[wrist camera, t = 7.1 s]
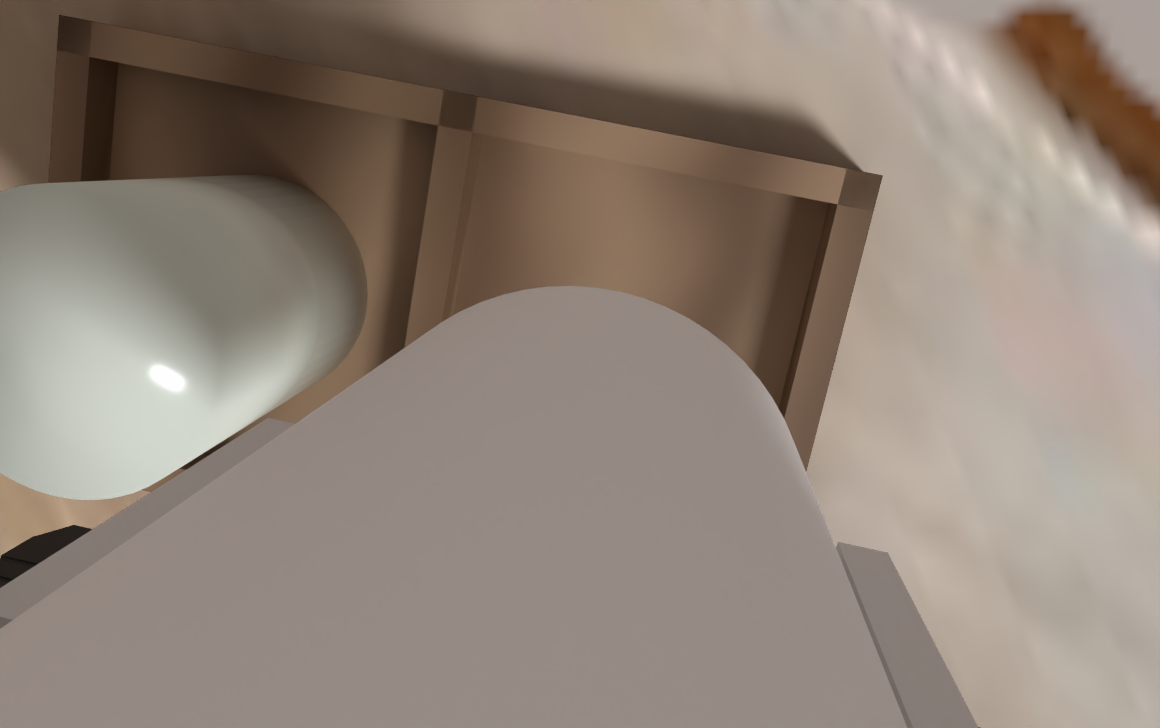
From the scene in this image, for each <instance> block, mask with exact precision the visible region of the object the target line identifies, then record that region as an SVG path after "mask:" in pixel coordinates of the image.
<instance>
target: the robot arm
mask: <svg viewBox="0 0 1160 728" xmlns="http://www.w3.org/2000/svg"><path fill="white" fill-rule="evenodd" d="M293 425H294V423H289V422H285V421H280V420H276V419H271V418H267V419H265V420H264V421H262V422H261V423H259V424H257V425H256V426H254V427H253V428H251V429H250V430H248V431H246V432H245V433H243V434H242V435H240V436H239V437H237V438H235V439H234V440H232V441H231V442H229V443H228V444H226V445H224V446H223V447H221V448H220V449H218V450H217V451H215V452H213V453H212V454H210V455H209V456H207V457H206V458H204V459H202V460H201V461H199V462H198V463H196V464H195V465H193V466H191V467H190V468H188V469H187V470H185V471H184V472H182V473H180V474H179V475H177V476H176V477H174V478H173V479H171V480H169V481H168V482H166V483H165V484H163V485H162V486H160V487H158V488H157V489H155V490H154V491H152V492H151V493H149V494H147V495H146V496H144V497H143V498H141V499H140V500H138V501H136V502H135V503H133V504H132V505H130V506H129V507H127V508H125V509H124V510H122V511H121V512H119V513H118V514H116V515H114V516H113V517H111V518H110V519H108V520H106V521H105V522H103V523H102V524H100V525H99V526H97V527H95V528H94V529H89V528H85V527H80V526H76V525H72V526H69V527H65V528H62V529H59V530H55V531H52V532H48V533H45V534H41V535H38V536H34V537H32V538H30V539H28V540H26V541H25V542H23V543H21V544H20V545H18V546H16V547H15V548H13V549H11V550H9V551H8V552H6V553H4V554H3V555H1V558H0V629H1V628H2V627H4V626H5V625H7V624H8V623H9V622H11V621H12V620H14V619H15V618H17V617H18V616H19V615H21V614H22V613H24V612H25V611H27V610H28V609H30V608H31V607H32V606H34V605H35V604H37V603H38V602H40V601H41V600H43V599H44V598H45V597H47V596H48V595H50V594H51V593H53V592H54V591H55V590H57V589H58V588H60V587H61V586H63V585H64V584H66V583H67V582H68V581H70V580H71V579H73V578H74V577H76V576H77V575H78V574H80V573H81V572H83V571H84V570H86V569H87V568H89V567H90V566H91V565H93V564H94V563H96V562H97V561H99V560H100V559H102V558H103V557H104V556H106V555H107V554H109V553H110V552H112V551H113V550H114V549H116V548H117V547H119V546H120V545H122V544H123V543H125V542H126V541H127V540H129V539H130V538H132V537H133V536H135V535H136V534H137V533H139V532H140V531H142V530H143V529H145V528H146V527H148V526H149V525H150V524H152V523H153V522H155V521H156V520H158V519H159V518H161V517H162V516H163V515H165V514H166V513H168V512H169V511H171V510H172V509H173V508H175V507H176V506H178V505H179V504H181V503H182V502H184V501H185V500H186V499H188V498H189V497H191V496H192V495H194V494H195V493H196V492H198V491H199V490H201V489H202V488H204V487H205V486H207V485H208V484H209V483H211V482H212V481H214V480H215V479H217V478H218V477H220V476H221V475H222V474H224V473H225V472H227V471H228V470H230V469H231V468H232V467H234V466H235V465H237V464H238V463H240V462H241V461H243V460H244V459H245V458H247V457H248V456H250V455H251V454H253V453H254V452H255V451H257V450H258V449H260V448H261V447H263V446H264V445H266V444H267V443H268V442H270V441H271V440H273V439H274V438H276V437H277V436H279V435H280V434H281V433H283V432H284V431H286V430H287V429H289V428H290V427H291V426H293ZM836 549H837V551H838V554H839V557H840V559H841V562H842V564H843V567H844V569H845V572H846V574H847V577H848V579H849V582H850V584H851V587H852V589H853V592H854V594H855V597H856V599H857V602H858V604H859V607H860V609H861V612H862V614H863V617H864V620H865V622H866V625H867V627H868V630H869V632H870V635H871V637H872V640H873V642H874V645H875V647H876V650H877V652H878V655H879V657H880V660H881V662H882V665H883V667H884V670H885V672H886V675H887V678H888V680H889V683H890V685H891V688H892V690H893V693H894V695H895V698H896V700H897V703H898V705H899V708H900V710H901V713H902V715H903V718H904V720H905V723H906V725H907V728H979V727H978V726H977V724H976V722H975V720H974V718H973V716H972V714H971V712H970V710H969V709H968V707H967V705H966V703H965V701H964V699H963V697H962V695H961V693H960V691H959V689H958V687H957V685H956V684H955V682H954V680H953V678H952V676H951V674H950V672H949V670H948V668H947V666H946V664H945V662H944V660H943V658H942V657H941V655H940V653H939V651H938V649H937V647H936V645H935V643H934V641H933V639H932V637H931V635H930V633H929V631H928V630H927V628H926V626H925V624H924V622H923V620H922V618H921V616H920V614H919V612H918V610H917V608H916V606H915V604H914V603H913V601H912V599H911V597H910V595H909V593H908V591H907V589H906V587H905V585H904V583H903V581H902V579H901V577H900V576H899V574H898V572H897V570H896V568H895V566H894V564H893V562H892V560H891V558H890V556H889V554H888V553H887V552H882V551H877V550H873V549H868V548H864V547H859V546H854V545H850V544H845V543H841V542H838V543H837V547H836Z"/></svg>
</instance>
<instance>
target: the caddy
mask: <svg viewBox="0 0 1160 728" xmlns="http://www.w3.org/2000/svg"><path fill="white" fill-rule="evenodd" d="M224 175H266V176H274V177H277V178H281V179H285V180H288V181H290V182H293V183H295V184H297V185H300V186H302V187H304V188H305V189H307V190H309V191H310V192H312V193H314V194H315V195H317V196H318V197H319V198H320V199H322V200H323V201H324V202H326V203H327V204H328V205H329V206H330V207H331V208H332V209H333V210H334V211H335V212H336V213H337V214H338V216H339V217H340V218H341V219H342V221H343V222H344V223H345V224H346V226H347V228H348V229H349V231H350V232H351V234H352V236H353V237H354V239H355V242H356V244H357V246H358V248H359V250H360V253H361V256H362V259H363V263H364V266H365V271H366V277H367V288H368V299H367V310H366V315H365V320H364V324H363V326H362V329H361V332H360V335H359V337H358V339H357V341H356V343H355V345H354V347H353V348H352V350H351V351H350V353H349V354H348V355H347V357H346V358H345V359H344V360H343V362H342V363H341V364H340V365H339V366H338V367H337V368H336V369H335V370H333V371H332V372H331V373H330V374H328V375H327V376H326V377H324V378H323V379H321V380H320V381H318V382H316V383H315V384H313V385H312V386H310V387H308V388H307V389H305V390H304V391H302V392H300V393H299V394H297V395H296V396H294V397H292V398H291V399H289V400H288V401H286V402H284V403H283V404H281V405H280V406H278V407H276V408H275V409H273V410H272V411H270V412H268V413H267V414H265V415H264V416H262V417H260V418H259V419H257V420H256V421H254V422H252V423H251V424H249V425H248V426H246V427H244V428H243V429H241V430H240V431H238V432H236V433H235V434H233V435H232V436H230V437H228V438H227V439H225V440H224V441H222V442H220V443H219V444H217V445H216V446H214V447H212V448H211V449H209V450H208V451H206V452H204V453H203V454H201V455H200V456H198V457H196V458H195V459H193V460H192V461H190V462H188V463H187V464H185V465H184V466H182V467H180V468H179V469H177V470H176V471H174V472H172V473H171V474H169V475H168V476H166V477H164V478H163V479H161V480H159V481H158V482H156V483H154V484H152V485H151V486H149V487H147V488H144V489H142V490H144V491H149V492H152V491H154V490H155V489H157V488H158V487H160V486H162V485H163V484H165V483H166V482H168V481H169V480H171V479H173V478H174V477H176V476H177V475H179V474H180V473H182V472H184V471H185V470H187V469H188V468H190V467H191V466H193V465H195V464H196V463H198V462H199V461H201V460H202V459H204V458H206V457H207V456H209V455H210V454H212V453H213V452H215V451H217V450H218V449H220V448H221V447H223V446H224V445H226V444H228V443H229V442H231V441H232V440H234V439H235V438H237V437H239V436H240V435H242V434H243V433H245V432H246V431H248V430H250V429H251V428H253V427H254V426H256V425H257V424H259V423H261V422H262V421H264V420H265V419H267V418H271V419H276V420H280V421H285V422H289V423H294V424H296V423H297V422H299V421H300V420H302V419H303V418H304V417H306V416H307V415H309V414H310V413H312V412H313V411H314V410H316V409H317V408H319V407H320V406H322V405H323V404H325V403H326V402H327V401H329V400H330V399H332V398H333V397H335V396H336V395H338V394H339V393H340V392H342V391H343V390H345V389H346V388H348V387H349V386H350V385H352V384H353V383H355V382H356V381H358V380H359V379H361V378H362V377H363V376H365V375H366V374H368V373H369V372H371V371H372V370H373V369H375V368H376V367H378V366H379V365H381V364H382V363H384V362H385V361H386V360H388V359H389V358H391V357H392V356H394V355H395V354H396V353H398V352H399V351H401V350H402V349H404V348H405V347H407V346H408V345H409V344H411V343H412V342H414V341H415V340H417V339H418V338H420V337H421V336H422V335H424V334H425V333H427V332H428V331H430V330H431V329H432V328H434V327H435V326H437V325H438V324H440V323H441V322H443V321H445V320H446V319H448V318H450V317H451V316H453V315H455V314H457V313H458V312H460V311H462V310H464V309H467V308H469V307H471V306H473V305H476V304H478V303H480V302H483V301H486V300H489V299H492V298H495V297H498V296H501V295H504V294H508V293H513V292H517V291H521V290H526V289H534V288H542V287H553V286H580V287H593V288H601V289H607V290H613V291H618V292H623V293H627V294H630V295H634V296H637V297H641V298H644V299H647V300H650V301H652V302H655V303H657V304H660V305H663V306H665V307H667V308H669V309H671V310H673V311H675V312H677V313H679V314H681V315H683V316H685V317H687V318H689V319H691V320H692V321H694V322H695V323H697V324H698V325H700V326H702V327H703V328H705V329H706V330H708V331H709V332H710V333H712V334H713V335H714V336H716V337H717V338H718V339H719V340H721V341H722V342H723V343H725V344H726V345H727V346H728V347H729V348H730V349H731V350H732V351H733V352H735V353H736V354H737V355H738V356H739V357H740V358H741V359H742V360H743V361H744V362H745V363H746V364H747V366H748V367H749V368H750V369H751V370H752V371H753V373H754V374H755V375H756V376H757V377H758V378H759V379H760V381H761V382H762V384H763V385H764V387H765V388H766V389H767V391H768V392H769V394H770V395H771V397H772V398H773V400H774V402H775V403H776V405H777V407H778V409H779V410H780V412H781V414H782V416H783V418H784V420H785V422H786V424H787V427H788V429H789V431H790V434H791V436H792V438H793V441H794V443H795V446H796V448H797V451H798V453H799V456H800V458H801V461H802V463H803V466H804V468H805V471H806V470H807V467H808V463H809V459H810V455H811V451H812V447H813V443H814V439H815V436H816V432H817V428H818V424H819V420H820V416H821V412H822V408H823V405H824V401H825V397H826V393H827V389H828V385H829V381H830V377H831V374H832V370H833V366H834V362H835V358H836V354H837V350H838V346H839V343H840V339H841V335H842V331H843V327H844V323H845V319H846V316H847V312H848V308H849V304H850V300H851V296H852V292H853V288H854V285H855V281H856V277H857V273H858V269H859V265H860V261H861V257H862V254H863V250H864V246H865V242H866V238H867V234H868V230H869V226H870V223H871V219H872V215H873V211H874V207H875V203H876V199H877V196H878V192H879V188H880V184H881V180H882V175H877V174H872V173H867V172H862V171H857V170H852V169H846V168H841V167H836V166H831V165H826V164H821V163H816V162H811V161H805V160H800V159H795V158H790V157H785V156H780V155H775V154H770V153H764V152H759V151H754V150H749V149H744V148H739V147H734V146H729V145H723V144H718V143H713V142H708V141H703V140H698V139H693V138H688V137H682V136H677V135H672V134H667V133H662V132H657V131H652V130H647V129H641V128H636V127H631V126H626V125H621V124H616V123H611V122H605V121H600V120H595V119H590V118H585V117H580V116H575V115H570V114H564V113H559V112H554V111H549V110H544V109H539V108H534V107H529V106H523V105H518V104H513V103H508V102H503V101H498V100H493V99H488V98H482V97H477V96H472V95H467V94H462V93H457V92H452V91H447V90H441V89H436V88H431V87H426V86H421V85H416V84H411V83H406V82H400V81H395V80H390V79H385V78H380V77H375V76H370V75H365V74H359V73H354V72H349V71H344V70H339V69H334V68H329V67H324V66H318V65H313V64H308V63H303V62H298V61H293V60H288V59H283V58H277V57H272V56H267V55H262V54H257V53H252V52H247V51H242V50H236V49H231V48H226V47H221V46H216V45H211V44H206V43H201V42H195V41H190V40H185V39H180V38H175V37H170V36H165V35H159V34H154V33H149V32H144V31H139V30H134V29H129V28H124V27H118V26H113V25H108V24H103V23H98V22H93V21H88V20H83V19H77V18H72V17H67V16H62V15H59V27H58V43H57V58H56V74H55V90H54V106H53V121H52V137H51V153H50V168H49V183H62V182H85V181H108V180H131V179H155V178H178V177H201V176H224Z"/></svg>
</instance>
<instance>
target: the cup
mask: <svg viewBox="0 0 1160 728" xmlns="http://www.w3.org/2000/svg"><path fill="white" fill-rule="evenodd" d="M0 728H907V725H906V723H905V720H904V718H903V715H902V713H901V710H900V708H899V705H898V703H897V700H896V698H895V695H894V693H893V690H892V688H891V685H890V683H889V680H888V678H887V675H886V672H885V670H884V667H883V665H882V662H881V660H880V657H879V655H878V652H877V650H876V647H875V645H874V642H873V640H872V637H871V635H870V632H869V630H868V627H867V625H866V622H865V620H864V617H863V614H862V612H861V609H860V607H859V604H858V602H857V599H856V597H855V594H854V592H853V589H852V587H851V584H850V582H849V579H848V577H847V574H846V572H845V569H844V567H843V564H842V562H841V559H840V557H839V554H838V551H837V549H836V546H835V544H834V541H833V539H832V536H831V534H830V531H829V529H828V526H827V524H826V521H825V519H824V516H823V514H822V511H821V509H820V506H819V504H818V501H817V499H816V496H815V494H814V491H813V488H812V486H811V483H810V481H809V478H808V476H807V473H806V471H805V468H804V466H803V463H802V461H801V458H800V456H799V453H798V451H797V448H796V446H795V443H794V441H793V438H792V436H791V434H790V431H789V429H788V427H787V424H786V422H785V420H784V418H783V416H782V414H781V412H780V410H779V409H778V407H777V405H776V403H775V402H774V400H773V398H772V397H771V395H770V394H769V392H768V391H767V389H766V388H765V387H764V385H763V384H762V382H761V381H760V379H759V378H758V377H757V376H756V375H755V374H754V373H753V371H752V370H751V369H750V368H749V367H748V366H747V364H746V363H745V362H744V361H743V360H742V359H741V358H740V357H739V356H738V355H737V354H736V353H735V352H733V351H732V350H731V349H730V348H729V347H728V346H727V345H726V344H725V343H723V342H722V341H721V340H719V339H718V338H717V337H716V336H714V335H713V334H712V333H710V332H709V331H708V330H706V329H705V328H703V327H702V326H700V325H698V324H697V323H695V322H694V321H692V320H691V319H689V318H687V317H685V316H683V315H681V314H679V313H677V312H675V311H673V310H671V309H669V308H667V307H665V306H663V305H660V304H657V303H655V302H652V301H650V300H647V299H644V298H641V297H637V296H634V295H630V294H627V293H623V292H618V291H613V290H607V289H601V288H593V287H580V286H553V287H542V288H534V289H526V290H521V291H517V292H513V293H508V294H504V295H501V296H498V297H495V298H492V299H489V300H486V301H483V302H480V303H478V304H476V305H473V306H471V307H469V308H467V309H464V310H462V311H460V312H458V313H457V314H455V315H453V316H451V317H450V318H448V319H446V320H445V321H443V322H441V323H440V324H438V325H437V326H435V327H434V328H432V329H431V330H430V331H428V332H427V333H425V334H424V335H422V336H421V337H420V338H418V339H417V340H415V341H414V342H412V343H411V344H409V345H408V346H407V347H405V348H404V349H402V350H401V351H399V352H398V353H396V354H395V355H394V356H392V357H391V358H389V359H388V360H386V361H385V362H384V363H382V364H381V365H379V366H378V367H376V368H375V369H373V370H372V371H371V372H369V373H368V374H366V375H365V376H363V377H362V378H361V379H359V380H358V381H356V382H355V383H353V384H352V385H350V386H349V387H348V388H346V389H345V390H343V391H342V392H340V393H339V394H338V395H336V396H335V397H333V398H332V399H330V400H329V401H327V402H326V403H325V404H323V405H322V406H320V407H319V408H317V409H316V410H314V411H313V412H312V413H310V414H309V415H307V416H306V417H304V418H303V419H302V420H300V421H299V422H297V423H296V424H294V425H293V426H291V427H290V428H289V429H287V430H286V431H284V432H283V433H281V434H280V435H279V436H277V437H276V438H274V439H273V440H271V441H270V442H268V443H267V444H266V445H264V446H263V447H261V448H260V449H258V450H257V451H255V452H254V453H253V454H251V455H250V456H248V457H247V458H245V459H244V460H243V461H241V462H240V463H238V464H237V465H235V466H234V467H232V468H231V469H230V470H228V471H227V472H225V473H224V474H222V475H221V476H220V477H218V478H217V479H215V480H214V481H212V482H211V483H209V484H208V485H207V486H205V487H204V488H202V489H201V490H199V491H198V492H196V493H195V494H194V495H192V496H191V497H189V498H188V499H186V500H185V501H184V502H182V503H181V504H179V505H178V506H176V507H175V508H173V509H172V510H171V511H169V512H168V513H166V514H165V515H163V516H162V517H161V518H159V519H158V520H156V521H155V522H153V523H152V524H150V525H149V526H148V527H146V528H145V529H143V530H142V531H140V532H139V533H137V534H136V535H135V536H133V537H132V538H130V539H129V540H127V541H126V542H125V543H123V544H122V545H120V546H119V547H117V548H116V549H114V550H113V551H112V552H110V553H109V554H107V555H106V556H104V557H103V558H102V559H100V560H99V561H97V562H96V563H94V564H93V565H91V566H90V567H89V568H87V569H86V570H84V571H83V572H81V573H80V574H78V575H77V576H76V577H74V578H73V579H71V580H70V581H68V582H67V583H66V584H64V585H63V586H61V587H60V588H58V589H57V590H55V591H54V592H53V593H51V594H50V595H48V596H47V597H45V598H44V599H43V600H41V601H40V602H38V603H37V604H35V605H34V606H32V607H31V608H30V609H28V610H27V611H25V612H24V613H22V614H21V615H19V616H18V617H17V618H15V619H14V620H12V621H11V622H9V623H8V624H7V625H5V626H4V627H2V628H1V629H0Z"/></svg>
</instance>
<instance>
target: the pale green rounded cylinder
mask: <svg viewBox="0 0 1160 728" xmlns="http://www.w3.org/2000/svg"><path fill="white" fill-rule="evenodd" d="M367 299H368V288H367V277H366V271H365V266H364V263H363V259H362V256H361V253H360V250H359V248H358V246H357V244H356V242H355V239H354V237H353V236H352V234H351V232H350V231H349V229H348V228H347V226H346V224H345V223H344V222H343V221H342V219H341V218H340V217H339V216H338V214H337V213H336V212H335V211H334V210H333V209H332V208H331V207H330V206H329V205H328V204H327V203H326V202H324V201H323V200H322V199H320V198H319V197H318V196H317V195H315V194H314V193H312V192H310V191H309V190H307V189H305V188H304V187H302V186H300V185H297V184H295V183H293V182H290V181H288V180H285V179H281V178H277V177H274V176H266V175H224V176H201V177H178V178H155V179H131V180H108V181H85V182H62V183H39V184H30V185H24V186H17V187H13V188H10V189H7V190H4V191H0V473H1V474H3V475H5V476H7V477H8V478H10V479H12V480H14V481H15V482H17V483H19V484H22V485H24V486H26V487H29V488H31V489H33V490H36V491H39V492H42V493H46V494H49V495H52V496H56V497H62V498H69V499H75V500H100V499H110V498H116V497H120V496H124V495H128V494H132V493H134V492H137V491H139V490H142V489H144V488H147V487H149V486H151V485H152V484H154V483H156V482H158V481H159V480H161V479H163V478H164V477H166V476H168V475H169V474H171V473H172V472H174V471H176V470H177V469H179V468H180V467H182V466H184V465H185V464H187V463H188V462H190V461H192V460H193V459H195V458H196V457H198V456H200V455H201V454H203V453H204V452H206V451H208V450H209V449H211V448H212V447H214V446H216V445H217V444H219V443H220V442H222V441H224V440H225V439H227V438H228V437H230V436H232V435H233V434H235V433H236V432H238V431H240V430H241V429H243V428H244V427H246V426H248V425H249V424H251V423H252V422H254V421H256V420H257V419H259V418H260V417H262V416H264V415H265V414H267V413H268V412H270V411H272V410H273V409H275V408H276V407H278V406H280V405H281V404H283V403H284V402H286V401H288V400H289V399H291V398H292V397H294V396H296V395H297V394H299V393H300V392H302V391H304V390H305V389H307V388H308V387H310V386H312V385H313V384H315V383H316V382H318V381H320V380H321V379H323V378H324V377H326V376H327V375H328V374H330V373H331V372H332V371H333V370H335V369H336V368H337V367H338V366H339V365H340V364H341V363H342V362H343V360H344V359H345V358H346V357H347V355H348V354H349V353H350V351H351V350H352V348H353V347H354V345H355V343H356V341H357V339H358V337H359V335H360V332H361V329H362V326H363V324H364V320H365V315H366V310H367Z"/></svg>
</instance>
